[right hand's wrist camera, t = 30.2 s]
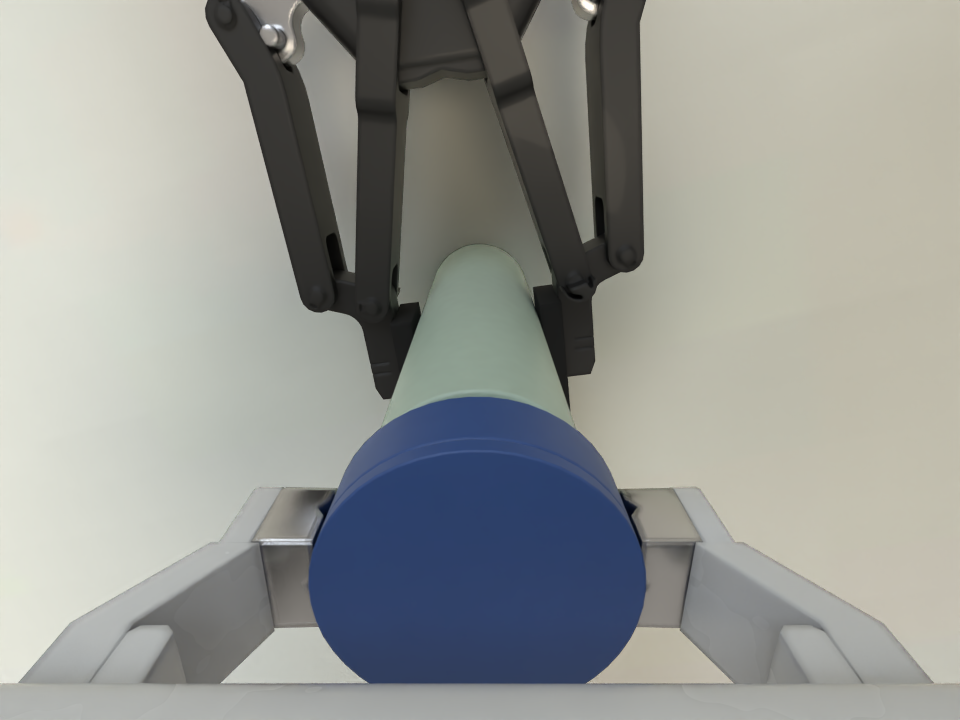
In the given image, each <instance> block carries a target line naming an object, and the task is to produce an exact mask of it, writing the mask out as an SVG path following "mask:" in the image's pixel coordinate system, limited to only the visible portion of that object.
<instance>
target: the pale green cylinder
mask: <svg viewBox="0 0 960 720" xmlns="http://www.w3.org/2000/svg"><path fill="white" fill-rule="evenodd" d="M461 397H494V398H502V399H509V400H513V401H517V402H521V403H525V404H529V405H531V406H534V407H537V408H539V409H542V410H544V411H547V412H549V413H551V414H552V415H554V416H556V417H558V418H560V419H562V420H563V421H565V422H566V423H568V424H569V425H571V426H572V427H573V428H575V425H574V422H573V419H572V416H571V413H570V410H569V407H568V404H567V401H566V398H565V395H564V392H563V389H562V386H561V383H560V381H559V378H558V375H557V372H556V369H555V366H554V363H553V360H552V357H551V354H550V351H549V348H548V345H547V342H546V339H545V336H544V333H543V330H542V327H541V324H540V321H539V318H538V315H537V313H536V310H535V307H534V304H533V301H532V298H531V295H530V292H529V289H528V286H527V283H526V280H525V277H524V274H523V272H522V270H521V268H520V266H519V264H518V263H517V262H516V261H515V259H514V258H513V257H512V256H510V255H509V254H508V253H507V252H505V251H504V250H502V249H500V248H498V247H494V246H491V245H486V244H474V245H468V246H465V247H462V248H460V249H458V250H456V251H454V252H453V253H451V254H450V255H449V256H448V257H447V258H446V259H445V260H444V261H443V262H442V264H441V265H440V267H439V268H438V271H437V273H436V275H435V278H434V281H433V284H432V287H431V289H430V292H429V295H428V298H427V301H426V303H425V306H424V309H423V312H422V315H421V317H420V320H419V323H418V326H417V329H416V331H415V334H414V337H413V340H412V343H411V345H410V348H409V351H408V354H407V357H406V359H405V362H404V365H403V368H402V371H401V373H400V376H399V379H398V382H397V385H396V387H395V390H394V393H393V396H392V399H391V401H390V404H389V407H388V410H387V413H386V415H385V418H384V421H383V424H382V427H383V426H385V425H386V424H388V423H389V422H390V421H392V420H393V419H395V418H397V417H399V416H401V415H403V414H405V413H407V412H409V411H410V410H413V409H416V408H419V407H421V406H424V405H427V404H429V403H434V402H438V401H442V400H446V399H452V398H461ZM382 427H381V428H382ZM575 429H576V428H575Z"/></svg>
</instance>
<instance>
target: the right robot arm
mask: <svg viewBox="0 0 960 720" xmlns="http://www.w3.org/2000/svg"><path fill="white" fill-rule="evenodd" d="M337 490H338V489H337V488H300V487H286V488H284V487H259V488H257V489H255V490H254V491H253V492H252V494H251V495H250V497H249V498H248V500H247V501H246V503H245V504H244V506H243V507H242V509H241V510H240V512H239V513H238V515H237V516H236V518H235V519H234V520H233V522H232V523H231V525H230V526H229V528H228V529H227V531H226V532H225V534H224V535H223V537H222V538H221V540H220V541H219V542H214V543H209V544H207V545H205V546H204V547H202V548H200V549H198V550H197V551H195V552H193V553H191V554H190V555H188V556H186V557H184V558H183V559H181V560H179V561H177V562H176V563H174V564H172V565H170V566H169V567H167V568H165V569H163V570H162V571H160V572H158V573H156V574H155V575H153V576H151V577H149V578H148V579H146V580H144V581H142V582H141V583H139V584H137V585H135V586H134V587H132V588H130V589H128V590H127V591H125V592H123V593H122V594H120V595H118V596H116V597H115V598H113V599H111V600H109V601H108V602H106V603H104V604H102V605H101V606H99V607H97V608H95V609H94V610H92V611H90V612H88V613H87V614H85V615H83V616H81V617H80V618H78V619H76V620H74V621H73V622H71V623H70V624H69V625H68V626H67V627H66V628H65V630H64V631H63V632H62V633H61V634H60V635H59V636H58V638H57V639H56V640H55V641H54V642H53V643H52V645H51V646H50V647H49V648H48V649H47V650H46V651H45V653H44V654H43V655H42V656H41V657H40V658H39V660H38V661H37V662H36V663H35V664H34V665H33V666H32V668H31V669H30V670H29V671H28V672H27V673H26V675H25V676H24V677H23V678H22V679H21V680H20V681H19V683H0V720H960V683H933V681H932V680H931V679H930V678H929V677H928V675H927V674H926V673H925V672H924V671H923V670H922V668H921V667H920V666H919V665H918V664H917V662H916V661H915V660H914V659H913V658H912V657H911V655H910V654H909V653H908V652H907V651H906V649H905V648H904V647H903V646H902V645H901V644H900V642H899V641H898V640H897V639H896V638H895V636H894V635H893V634H892V633H891V632H890V631H889V629H888V628H887V627H886V626H885V625H884V624H883V623H882V622H880V621H878V620H877V619H875V618H873V617H871V616H870V615H868V614H866V613H864V612H863V611H861V610H859V609H858V608H856V607H854V606H852V605H851V604H849V603H847V602H845V601H844V600H842V599H840V598H839V597H837V596H835V595H833V594H832V593H830V592H828V591H826V590H825V589H823V588H821V587H820V586H818V585H816V584H814V583H813V582H811V581H809V580H808V579H806V578H804V577H802V576H801V575H799V574H797V573H795V572H794V571H792V570H790V569H789V568H787V567H785V566H783V565H782V564H780V563H778V562H776V561H775V560H773V559H771V558H770V557H768V556H766V555H764V554H763V553H761V552H759V551H757V550H756V549H754V548H752V547H751V546H749V545H747V544H745V543H740V542H735V541H734V539H733V538H732V536H731V535H730V533H729V532H728V530H727V529H726V527H725V526H724V524H723V523H722V521H721V520H720V518H719V517H718V515H717V514H716V512H715V511H714V509H713V508H712V506H711V505H710V503H709V502H708V500H707V499H706V497H705V496H704V494H703V493H702V491H701V490H700V489H699V488H697V487H673V488H646V489H618V492H619V494H620V497H621V499H622V502H623V504H624V507H625V509H626V512H627V514H628V517H629V519H630V522H631V524H632V527H633V529H634V531H635V534H636V536H637V539H638V542H639V545H640V547H641V550H642V553H643V558H644V563H645V568H646V593H645V600H644V606H643V609H642V613H641V616H640V619H639V622H638V624H637V626H636V627H662V628H680V631H681V632H682V633H683V634H684V635H685V636H686V637H687V638H688V639H689V640H691V641H692V642H693V643H694V644H695V645H696V646H697V647H698V648H699V649H700V650H701V651H702V652H703V653H704V654H705V655H706V656H707V657H708V658H709V659H710V660H711V661H712V662H713V663H714V664H715V665H716V666H717V667H718V668H719V669H720V670H721V671H722V672H723V673H724V674H725V675H726V676H727V677H728V678H729V679H730V680H731V681H733V682H734V683H735V684H488V683H276V684H220V683H221V682H222V681H223V680H224V679H225V678H226V677H227V676H228V675H229V674H230V673H231V672H232V671H233V670H234V669H235V668H236V667H237V666H238V665H239V664H241V663H242V662H243V661H244V660H245V659H246V658H247V657H248V656H249V655H250V654H251V653H252V652H253V651H254V650H255V649H256V648H257V647H258V646H259V645H260V644H261V643H262V642H263V641H264V640H265V639H266V638H267V637H269V636H270V635H271V634H272V633H273V632H274V628H292V627H319V626H318V624H317V622H316V620H315V617H314V613H313V610H312V607H311V603H310V595H309V587H308V579H309V565H310V560H311V556H312V551H313V548H314V546H315V543H316V540H317V538H318V535H319V533H320V530H321V528H322V526H323V523H324V521H325V519H326V516H327V514H328V511H329V509H330V507H331V504H332V502H333V499H334V497H335V495H336V492H337Z"/></svg>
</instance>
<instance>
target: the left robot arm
mask: <svg viewBox="0 0 960 720" xmlns="http://www.w3.org/2000/svg"><path fill="white" fill-rule="evenodd" d="M540 1H541V0H208V1H207V4H206V7H205V14H206V19H207V22H208V24H209V27H210V28H211V30H212V32H213V33H214V35H215V36H216V38H217V40H218V41H219V43H220V45H221V46H222V48H223V49H224V51H225V53H226V54H227V56H228V58H229V59H230V61H231V63H232V64H233V66H234V67H235V69H236V71H237V72H238V74H239V76H240V77H241V79H242V80H243V82H244V86H245V89H246V93H247V97H248V101H249V105H250V108H251V112H252V116H253V120H254V124H255V127H256V131H257V135H258V139H259V142H260V146H261V150H262V154H263V158H264V161H265V165H266V169H267V173H268V177H269V180H270V184H271V188H272V192H273V196H274V199H275V203H276V207H277V211H278V214H279V218H280V222H281V226H282V230H283V233H284V237H285V241H286V245H287V249H288V252H289V256H290V260H291V264H292V268H293V271H294V275H295V279H296V283H297V286H298V290H299V294H300V298H301V300H302V302H303V304H304V305H305V306H306V307H307V308H308V309H309V310H311V311H313V312H321V313H322V312H324V311H327V310H329V311H334V312H339V313H344V314H347V315H350V316H352V317H353V318H355V319H356V320H357V321H358V322H359V323H360V325H361V326H362V329H363V332H364V337H365V341H366V346H367V351H368V355H369V360H370V363H371V369H372V373H373V378H374V382H375V387H376V389H377V391H378V392H379V394H380V395H381V397H382V398H383V399H391V398H392V396H393V393H394V390H395V387H396V385H397V382H398V379H399V376H400V373H401V371H402V368H403V365H404V362H405V359H406V357H407V354H408V351H409V348H410V345H411V343H412V340H413V337H414V334H415V331H416V329H417V326H418V323H419V320H420V317H421V312H420V306H419V302H414V303H407V304H400V306H398V301H397V296H398V294H399V292H400V288H399V287H398V283H399V263H400V243H401V223H402V203H403V183H404V163H405V143H406V125H407V119H408V113H409V98H410V89H416V88H423V87H425V86H427V85H430V84H432V83H434V82H436V81H438V80H440V79H442V78H454V79H460V80H467V81H470V80H477V79H484V81H485V84H486V87H487V90H488V92H489V95H490V98H491V101H492V104H493V106H494V109H495V111H496V114H497V117H498V120H499V123H500V126H501V129H502V131H503V134H504V137H505V140H506V143H507V146H508V149H509V152H510V155H511V158H512V161H513V164H514V167H515V170H516V172H517V175H518V178H519V181H520V184H521V187H522V190H523V193H524V196H525V199H526V202H527V205H528V208H529V211H530V213H531V216H532V219H533V222H534V225H535V228H536V231H537V234H538V237H539V240H540V243H541V246H542V249H543V252H544V254H545V257H546V260H547V263H548V266H549V269H550V272H551V274H552V285H553V286H552V285H545V286H537V287H533V292H534V302H535V310H536V313H537V315H538V318H539V321H540V324H541V327H542V330H543V333H544V336H545V339H546V342H547V345H548V348H549V351H550V354H551V357H552V360H553V363H554V366H555V369H556V372H557V375H558V378H559V381H560V383H561V386H562V389H563V392H564V395H565V398H566V401H567V404H568V407H569V410H570V401H569V389H568V377H569V376H577V375H585V374H591V371H592V368H593V366H594V363H595V351H594V337H593V319H592V302H591V301H592V296H593V295H594V293H595V291H596V288H597V286H598V285H599V283H601V282H602V281H604V280H605V279H607V278H609V277H611V276H613V275H615V274H617V273H620V272H630V271H633V270H635V269H636V268H637V267H638V266H639V265H640V264H641V262H642V260H643V256H644V225H643V173H642V121H641V69H640V19H641V16H642V12H643V9H644V5H645V2H646V0H572V2H571V3H572V7H573V10H574V11H575V13H576V14H577V15H578V16H579V17H580V18H582V19H584V20H587V21H588V25H587V32H586V42H585V62H586V82H587V101H588V121H589V140H590V159H591V179H592V198H593V218H594V237H595V238H594V239H592V240H590V241H588V242H586V243H584V244H582V241H581V238H580V235H579V232H578V229H577V226H576V222H575V219H574V216H573V213H572V210H571V206H570V203H569V200H568V197H567V194H566V191H565V187H564V184H563V181H562V178H561V175H560V171H559V168H558V165H557V162H556V159H555V156H554V152H553V149H552V146H551V143H550V140H549V136H548V133H547V130H546V127H545V124H544V121H543V117H542V114H541V111H540V108H539V105H538V101H537V98H536V95H535V92H534V87H533V81H532V77H531V73H530V69H529V66H528V63H527V60H526V57H525V53H524V50H523V47H522V44H521V39H522V37H523V35H524V33H525V31H526V29H527V27H528V25H529V23H530V21H531V19H532V17H533V15H534V13H535V11H536V9H537V7H538V5H539V3H540ZM309 10H310V11H311V12H312V13H313V14H314V15H315V16H316V17H317V18H318V20H319V21H320V22H321V23H322V24H323V25H324V26H325V27H326V28H327V29H328V31H329V32H330V33H331V34H332V35H333V36H334V37H335V38H336V39H337V40H338V41H339V43H340V44H341V45H342V46H343V47H344V48H345V49H346V50H347V51H348V52H349V54H350V55H351V56H352V57H353V58H354V59H355V60H356V87H355V101H356V108H357V113H358V160H357V209H356V258H355V273H352V272H348V270H347V266H346V261H345V257H344V253H343V248H342V244H341V239H340V235H339V231H338V226H337V222H336V217H335V213H334V209H333V204H332V200H331V195H330V191H329V187H328V182H327V178H326V174H325V169H324V165H323V160H322V156H321V152H320V147H319V143H318V138H317V134H316V130H315V125H314V121H313V116H312V112H311V108H310V103H309V99H308V96H307V92H306V88H305V85H304V83H303V80H302V77H301V75H300V72H299V70H298V68H297V66H296V64H297V63H298V62H299V61H300V60H301V59H302V57H303V56H304V52H305V43H304V39H303V36H302V33H301V22H302V19H303V17H304V15H305V13H306V12H307V11H309Z"/></svg>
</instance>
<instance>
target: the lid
mask: <svg viewBox="0 0 960 720" xmlns="http://www.w3.org/2000/svg"><path fill="white" fill-rule="evenodd" d="M308 587H309V595H310V603H311V607H312V610H313V613H314V617H315V620H316V622H317V624H318V626H319V628H320V631H321V633H322V635H323V637H324V638H325V640H326V641H327V643H328V644H329V645H330V647H331V648H332V650H333V651H334V652H335V653H336V655H337V656H338V657H339V658H340V659H341V660H342V661H343V662H344V664H345V665H347V666H348V667H349V668H350V669H351V670H352V671H353V672H355V673H356V674H357V675H358V676H359V677H361V678H362V679H364V680H365V681H367V682H368V683H488V684H586V683H587V682H589V681H590V680H592V679H593V678H594V677H596V676H597V675H598V674H599V673H600V672H602V671H603V670H604V669H605V668H606V667H608V666H609V665H610V663H611V662H612V661H613V660H614V659H615V658H616V657H617V656H618V655H619V654H620V652H621V651H622V650H623V648H624V647H625V645H626V644H627V643H628V641H629V640H630V638H631V636H632V634H633V632H634V630H635V628H636V626H637V624H638V622H639V619H640V616H641V613H642V609H643V606H644V600H645V593H646V568H645V563H644V558H643V553H642V550H641V547H640V545H639V542H638V539H637V536H636V534H635V531H634V529H633V527H632V524H631V522H630V519H629V517H628V514H627V512H626V509H625V507H624V504H623V502H622V499H621V497H620V494H619V492H618V489H617V487H616V484H615V482H614V479H613V477H612V474H611V472H610V470H609V468H608V467H607V465H606V463H605V461H604V459H603V458H602V456H601V455H600V454H599V453H598V451H597V450H596V449H595V447H594V446H593V445H592V444H591V443H590V442H589V441H588V440H587V439H586V438H585V437H584V436H583V435H582V434H581V433H580V432H579V431H577V430H576V429H575V428H573V427H572V426H571V425H569V424H568V423H566V422H565V421H563V420H562V419H560V418H558V417H556V416H554V415H552V414H551V413H549V412H547V411H544V410H542V409H539V408H537V407H534V406H531V405H529V404H525V403H521V402H517V401H513V400H509V399H502V398H494V397H461V398H452V399H446V400H442V401H438V402H434V403H429V404H427V405H424V406H421V407H419V408H416V409H413V410H410V411H409V412H407V413H405V414H403V415H401V416H399V417H397V418H395V419H393V420H392V421H390V422H389V423H388V424H386V425H385V426H383V427H382V428H380V429H379V430H378V431H377V432H376V433H374V434H373V435H372V436H371V437H370V438H369V439H368V440H367V441H366V442H365V443H364V444H363V445H362V447H361V448H360V449H359V450H358V452H357V453H356V454H355V455H354V457H353V459H352V460H351V462H350V464H349V465H348V467H347V469H346V471H345V473H344V475H343V478H342V480H341V483H340V485H339V487H338V490H337V492H336V495H335V497H334V499H333V502H332V504H331V507H330V509H329V511H328V514H327V516H326V519H325V521H324V523H323V526H322V528H321V530H320V533H319V535H318V538H317V540H316V543H315V546H314V548H313V551H312V556H311V560H310V565H309V579H308Z"/></svg>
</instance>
